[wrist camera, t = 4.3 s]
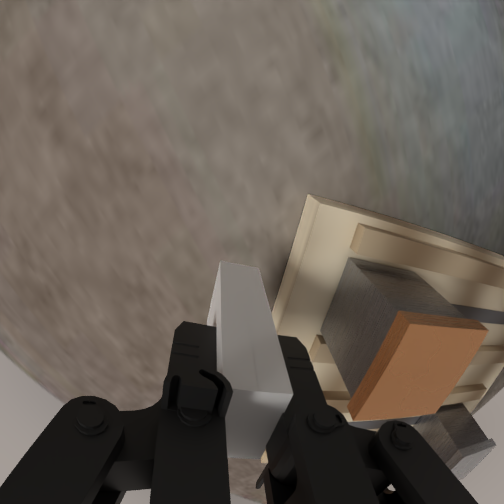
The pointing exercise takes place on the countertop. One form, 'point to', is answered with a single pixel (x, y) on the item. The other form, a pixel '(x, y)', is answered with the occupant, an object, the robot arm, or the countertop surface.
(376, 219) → the beige flat board
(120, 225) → the countertop surface
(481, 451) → the fader
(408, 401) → the block
